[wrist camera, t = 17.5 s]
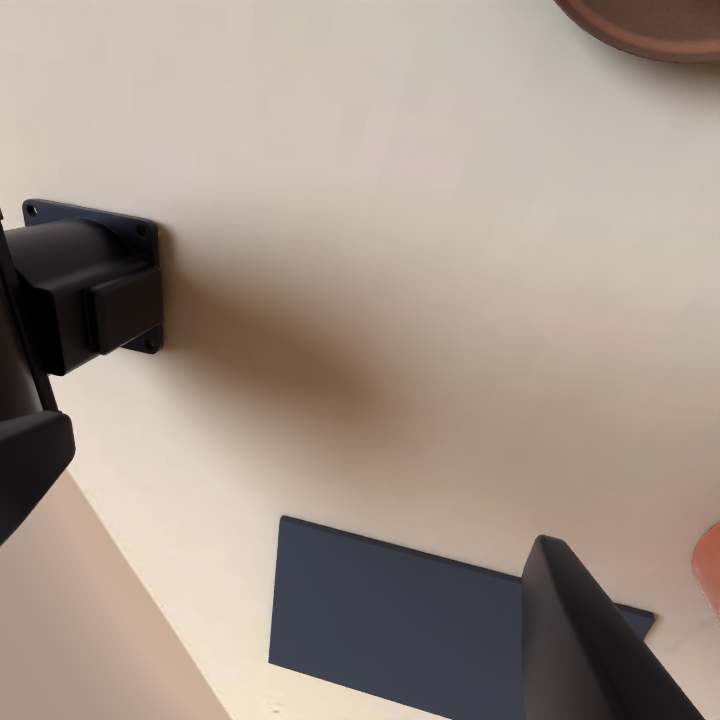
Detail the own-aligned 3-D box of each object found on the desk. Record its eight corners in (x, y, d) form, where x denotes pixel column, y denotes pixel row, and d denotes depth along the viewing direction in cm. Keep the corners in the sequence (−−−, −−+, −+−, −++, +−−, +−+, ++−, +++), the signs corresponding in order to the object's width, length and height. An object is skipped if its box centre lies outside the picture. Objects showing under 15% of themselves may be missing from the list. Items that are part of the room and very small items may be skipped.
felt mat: (270, 657, 33) (268, 663, 32) (282, 514, 27) (279, 519, 27) (570, 749, 30) (571, 757, 30) (653, 613, 24) (655, 619, 24)
